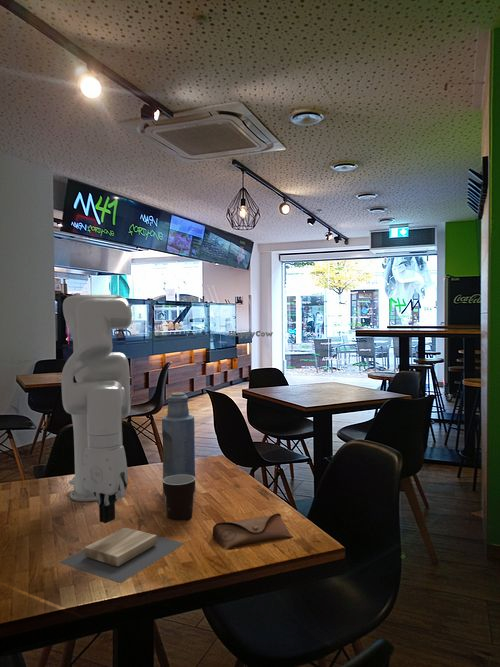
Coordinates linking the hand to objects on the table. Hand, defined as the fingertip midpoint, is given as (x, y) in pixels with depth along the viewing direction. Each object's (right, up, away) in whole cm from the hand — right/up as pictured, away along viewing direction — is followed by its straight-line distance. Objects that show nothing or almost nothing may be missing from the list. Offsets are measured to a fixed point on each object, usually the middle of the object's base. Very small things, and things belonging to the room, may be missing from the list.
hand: (107, 520), depth 114 cm
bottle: (+11, -6, +38) cm, 40 cm away
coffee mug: (+14, -6, +20) cm, 25 cm away
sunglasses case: (+33, -7, +5) cm, 34 cm away
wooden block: (-1, -5, +1) cm, 5 cm away
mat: (+4, -7, -2) cm, 8 cm away
